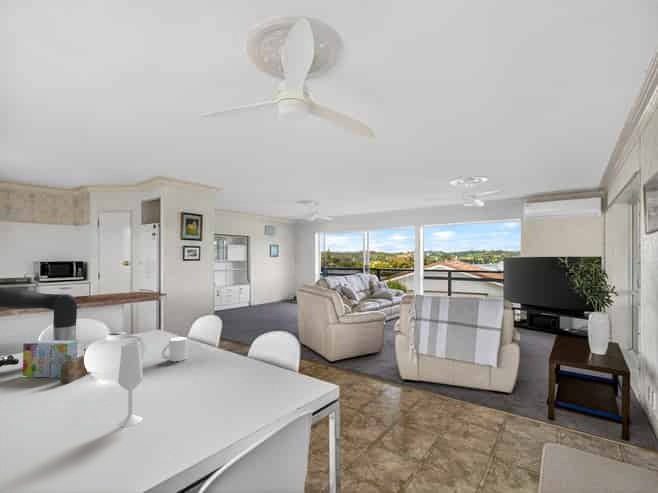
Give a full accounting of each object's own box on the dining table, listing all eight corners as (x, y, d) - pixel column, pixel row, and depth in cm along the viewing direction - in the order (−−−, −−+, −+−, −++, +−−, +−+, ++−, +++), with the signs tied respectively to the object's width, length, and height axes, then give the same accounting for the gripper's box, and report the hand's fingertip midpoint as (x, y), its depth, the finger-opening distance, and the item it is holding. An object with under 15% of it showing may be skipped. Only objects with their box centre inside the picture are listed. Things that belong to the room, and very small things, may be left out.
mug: (189, 338, 173) (165, 343, 164) (189, 359, 172) (165, 364, 164) (182, 336, 178) (158, 340, 170) (182, 356, 178) (158, 361, 169)
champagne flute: (137, 414, 111) (137, 340, 112) (146, 420, 107) (146, 343, 108) (114, 422, 106) (114, 344, 107) (122, 428, 102) (123, 347, 103)
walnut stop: (87, 371, 155) (87, 347, 155) (94, 371, 155) (94, 347, 155) (60, 383, 140) (61, 356, 140) (68, 383, 140) (68, 356, 140)
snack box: (76, 374, 152) (77, 340, 152) (66, 378, 146) (66, 343, 147) (33, 373, 154) (34, 339, 154) (21, 377, 148) (21, 342, 149)
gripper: (-38, 357, 143) (2, 357, 143) (-6, 349, 157) (31, 349, 156) (-38, 375, 143) (2, 375, 143) (-7, 365, 156) (30, 365, 156)
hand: (17, 361), depth 149 cm, fingers closed
